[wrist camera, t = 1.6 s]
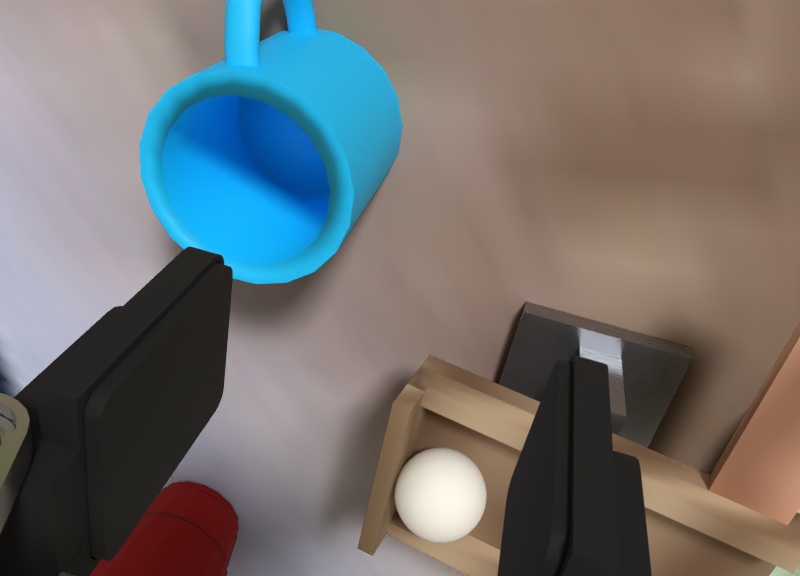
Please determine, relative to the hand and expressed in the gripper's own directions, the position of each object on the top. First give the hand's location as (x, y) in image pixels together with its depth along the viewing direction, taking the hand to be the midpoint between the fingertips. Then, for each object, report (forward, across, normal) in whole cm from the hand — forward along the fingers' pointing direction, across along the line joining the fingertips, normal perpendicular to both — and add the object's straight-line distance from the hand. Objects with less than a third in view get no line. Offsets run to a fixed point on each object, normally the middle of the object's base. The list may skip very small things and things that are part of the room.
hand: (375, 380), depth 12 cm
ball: (+14, -2, +16) cm, 21 cm away
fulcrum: (+21, -8, +16) cm, 28 cm away
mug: (+22, +8, +2) cm, 23 cm away
